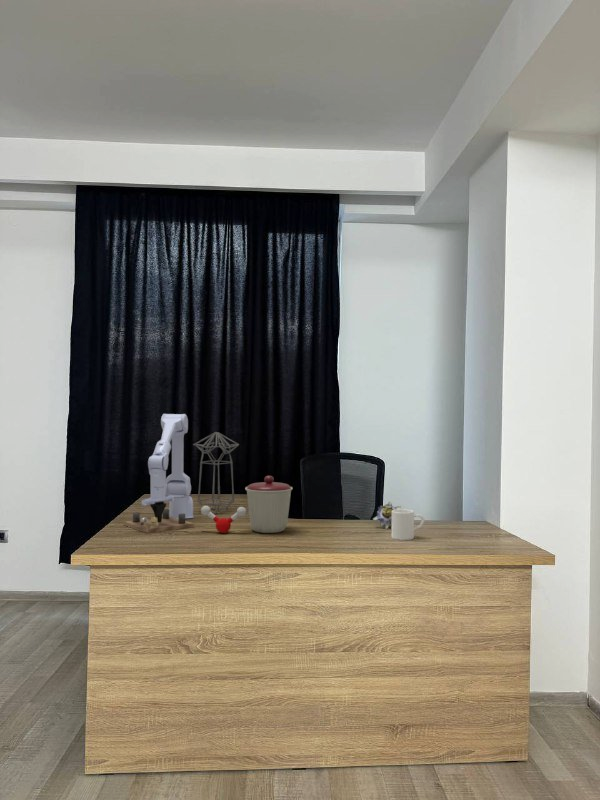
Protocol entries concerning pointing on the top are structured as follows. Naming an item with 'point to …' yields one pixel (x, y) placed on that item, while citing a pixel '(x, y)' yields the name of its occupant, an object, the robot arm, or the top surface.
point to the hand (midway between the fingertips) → (158, 522)
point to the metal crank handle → (153, 520)
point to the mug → (404, 524)
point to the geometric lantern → (219, 436)
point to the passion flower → (385, 514)
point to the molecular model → (223, 523)
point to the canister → (268, 505)
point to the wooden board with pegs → (164, 525)
